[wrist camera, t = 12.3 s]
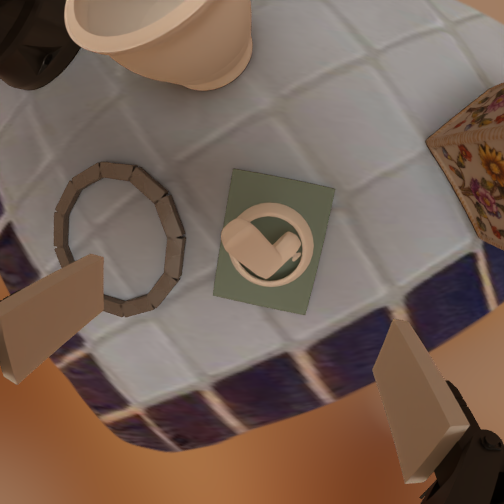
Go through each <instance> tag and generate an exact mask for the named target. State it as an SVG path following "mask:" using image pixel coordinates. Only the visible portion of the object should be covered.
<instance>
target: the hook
mask: <svg viewBox="0 0 504 504" xmlns="http://www.w3.org/2000/svg"><path fill="white" fill-rule="evenodd" d="M267 216H270V217H277V218H280V219H283V220H285V221H287V222H288V223H289V224H291V225H292V226H293V227H294V228H295V230H296V231H297V232H298V234H299V236H300V239H301V242H302V249H303V250H302V257H301V260H300V263H299V265H298V266H297V268H296V269H295V270H294V271H293V273H291V274H290V275H289V276H287V277H285V278H283V279H279V280H273V281H268V280H262V279H258V278H256V277H254V276H252V275H251V274H249V273H248V272H247V271H246V270H245V269H244V268H243V267H242V265H241V264H240V263H242V264H243V265H244V266H246V267H247V268H248V269H250V270H251V271H252V272H254V273H255V274H256V275H257V276H260V277H263V278H265V279H268V278H269V277H271V276H272V275H273V274H274V273H275V272H276V271H277V270H278V269H279V268H280V267H281V266H282V265H283V264H284V263H286V262H287V261H288V260H289V259H290V258H291V257H293V258H292V261H293V262H294V261H296V260H297V259H298V258H299V257H300V255H301V253H300V252H299V253H296V252H297V251H298V249H299V247H300V246H301V242H300V240H299V238H298V237H297V235H295V234H293V233H292V232H289V231H288V232H286V233H285V234H284V235H283V236H281V237H280V238H279V239H278V240H277V241H276V242H275V243H274V244H273V245H272V244H271V243H270V242H269V241H268V240H267V239H266V238H265V237H264V236H263V234H262V233H261V232H260V231H259V230H258V229H257V228H256V227H255V226H254V225H253V224H251V223H250V222H251V221H253V220H255V219H257V218H260V217H267ZM221 240H222V243H223V246H224V248H225V250H226V251H227V252H228V253H229V256H230V258H231V261H232V263H233V265H234V267H235V268H236V270H237V271H238V272H239V273H240V274H241V275H242V276H243V277H244V278H246V279H247V280H248V281H250V282H252V283H254V284H257V285H260V286H266V287H276V286H282V285H285V284H288V283H290V282H292V281H294V280H295V279H297V278H298V277H299V276H300V275H301V274H302V273H303V272H304V271H305V270H306V268H307V267H308V265H309V263H310V261H311V258H312V255H313V248H314V243H313V236H312V233H311V229H310V227H309V226H308V224H307V222H306V221H305V219H304V218H303V217H302V216H301V215H300V214H299V213H298V212H296V211H295V210H294V209H292V208H290V207H288V206H286V205H283V204H279V203H270V202H269V203H260V204H257V205H254V206H252V207H250V208H248V209H246V210H245V211H244V212H243V213H241V214H240V215H239V216H238V217H237V219H234V220H232V221H231V222H229V223H228V224H227V225H226V226H225V227H224V228H223V230H222V232H221Z"/></svg>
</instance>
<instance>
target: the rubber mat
mask: <svg viewBox="0 0 504 504" xmlns="http://www.w3.org/2000/svg"><path fill="white" fill-rule="evenodd" d="M334 192H335V189H333V188H329V187H325V186H320V185H315V184H311V183H306V182H301V181H297V180H292V179H287V178H282V177H276V176H271V175H266V174H261V173H255V172H249V171H244V170H238V169H233V173H232V178H231V184H230V190H229V196H228V202H227V208H226V214H225V220H224V226H223V228H224V227H225V226H226V225H227V224H228V223H229V222H231V221H232V220H234V219H237V217H238V216H239V215H240V214H241V213H243V212H244V211H245V210H246V209H248V208H250V207H252V206H254V205H257V204H260V203H269V202H270V203H279V204H283V205H286V206H288V207H290V208H292V209H294V210H295V211H296V212H298V213H299V214H300V215H301V216H302V217H303V218H304V219H305V221H306V222H307V224H308V226H309V227H310V229H311V233H312V236H313V243H314V248H313V255H312V258H311V261H310V263H309V265H308V267H307V268H306V270H305V271H304V272H303V273H302V274H301V275H300V276H299V277H298V278H297V279H295V280H294V281H292V282H290V283H288V284H285V285H282V286H276V287H266V286H260V285H257V284H254V283H252V282H250V281H248V280H247V279H246V278H244V277H243V276H242V275H241V274H240V273H239V272H238V271H237V270H236V268H235V267H234V265H233V263H232V261H231V258H230V256H229V253H228V252H227V251H226V250H225V248H224V246H223V243H222V240H221V245H220V251H219V257H218V264H217V270H216V277H215V284H214V290H213V295H214V296H218V297H222V298H227V299H231V300H235V301H240V302H244V303H249V304H253V305H258V306H263V307H267V308H272V309H277V310H282V311H287V312H291V313H296V314H301V315H305V314H306V310H307V307H308V303H309V299H310V295H311V291H312V287H313V284H314V280H315V276H316V272H317V268H318V263H319V259H320V255H321V251H322V247H323V242H324V238H325V234H326V229H327V225H328V220H329V216H330V211H331V207H332V202H333V197H334ZM250 223H251V224H253V225H254V226H255V227H256V228H257V229H258V230H259V231H260V232H261V233H262V234H263V236H264V237H265V238H266V239H267V240H268V241H269V242H270V243H271V244H272V245H273V244H274V243H275V242H276V241H277V240H278V239H279V238H280V237H281V236H283V235H284V234H285V233H286V232H288V231H289V232H292V233H293V234H295V235H297V237H298V238H299V240H300V242H301V239H300V236H299V234H298V232H297V231H296V230H295V228H294V227H293V226H292V225H291V224H289V223H288V222H287V221H285V220H283V219H280V218H277V217H270V216H267V217H260V218H257V219H255V220H253V221H251V222H250ZM302 250H303V249H302V242H301V246H300V247H299V249H298V251H297V252H296V253H299V252H300V253H301V255H300V257H299V258H298V259H297V260H296V261H294V262H293V261H292V258H293V257H291V258H290V259H289V260H288V261H287V262H286V263H284V264H283V265H282V266H281V267H280V268H279V269H278V270H277V271H276V272H275V273H274V274H273V275H272V276H271V277H269V278H268V279H265V278H263V277H260V276H257V275H256V274H255V273H254V272H252V271H251V270H250V269H248V268H247V267H246V266H244V265H243V264H242V263H240V264H241V265H242V267H243V268H244V269H245V270H246V271H247V272H248V273H249V274H251V275H252V276H254V277H256V278H258V279H262V280H268V281H273V280H279V279H283V278H285V277H287V276H289V275H290V274H291V273H293V271H294V270H295V269H296V268H297V266H298V265H299V263H300V260H301V257H302Z"/></svg>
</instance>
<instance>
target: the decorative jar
mask: <svg viewBox="0 0 504 504" xmlns="http://www.w3.org/2000/svg"><path fill="white" fill-rule="evenodd" d="M426 143H427V145H428V147H429V149H430V150H431V152H432V154H433V155H434V157H435V158H436V160H437V161H438V163H439V165H440V166H441V168H442V169H443V171H444V173H445V174H446V176H447V178H448V180H449V181H450V183H451V184H452V186H453V188H454V190H455V192H456V194H457V196H458V197H459V199H460V201H461V203H462V205H463V207H464V209H465V210H466V212H467V214H468V216H469V218H470V220H471V222H472V224H473V226H474V228H475V230H476V233H477V235H478V236H479V238H480V239H482V240H483V241H485V242H487V243H489V244H492V245H493V246H495V247H497V248H500V249H501V250H504V83H501V84H499V85H497V86H494V87H492V88H490V89H488V90H487V91H486V92H485V93H484V94H483V95H481V96H480V97H479V98H477V99H476V100H475V101H473V102H472V103H471V104H470V105H468V106H467V107H466V108H465V109H464V110H462V111H461V112H460V113H458V114H457V115H456V116H455V117H453V118H452V119H451V120H450V121H449V122H447V123H446V124H445V125H443V126H442V127H441V128H440V129H439V130H438V131H436V132H435V133H434V134H433V135H432V136H430V137H429V138H428V139H427V141H426Z"/></svg>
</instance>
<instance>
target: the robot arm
mask: <svg viewBox="0 0 504 504" xmlns="http://www.w3.org/2000/svg"><path fill="white" fill-rule="evenodd" d="M65 4H66V0H0V79H2V80H3V81H4V82H5V83H7V84H8V85H10V86H12V87H14V88H19V89H24V90H33V89H37V88H40V87H42V86H44V85H46V84H47V83H49V82H50V81H51V80H53V79H54V78H55V77H56V76H57V75H58V74H60V73H61V72H62V71H63V69H64V68H65V67H66V66H67V65H68V64H69V62H70V61H71V60H72V59H73V57H74V56H75V54H76V53H77V51H78V50H79V48H80V46H79V45H77V44H76V43H75V42H74V41H73V40H72V39H71V37H70V36H69V34H68V32H67V29H66V25H65V19H64V11H65ZM103 263H104V257H101V256H97V255H93V254H89V255H87V256H85V257H83V258H81V259H79V260H77V261H75V262H73V263H71V264H69V265H67V266H65V267H63V268H62V269H60V270H58V271H56V272H54V273H52V274H50V275H48V276H46V277H44V278H42V279H41V280H39V281H37V282H35V283H33V284H31V285H29V286H28V287H26V288H24V289H22V290H18V291H16V292H15V293H13V294H11V295H10V296H7V297H6V298H4V299H3V300H0V366H1V369H2V372H3V375H4V377H6V378H7V379H9V380H10V381H12V382H13V383H15V384H16V385H18V384H19V383H20V382H21V381H22V380H23V379H24V378H26V377H27V375H29V374H30V373H31V372H32V371H33V370H34V369H36V368H37V367H38V366H39V365H40V364H41V363H42V362H43V361H45V360H46V359H47V358H48V357H49V356H50V355H51V354H53V353H54V352H55V351H56V350H57V349H58V348H59V347H61V346H62V345H63V344H64V343H65V342H66V341H68V340H69V339H70V338H71V337H72V336H73V335H75V334H76V333H77V332H78V331H79V330H81V329H82V328H83V327H84V326H85V325H86V324H88V323H89V322H90V321H91V320H92V319H94V318H95V317H96V316H97V315H98V314H100V313H101V312H102V311H103V310H104V297H103ZM372 371H373V374H374V377H375V380H376V383H377V386H378V389H379V392H380V396H381V399H382V402H383V405H384V409H385V412H386V415H387V419H388V422H389V425H390V429H391V432H392V436H393V439H394V443H395V447H396V450H397V454H398V458H399V461H400V465H401V469H402V473H403V477H404V481H405V483H419V482H425V480H427V478H428V477H429V476H430V475H431V474H432V473H433V472H435V475H436V478H437V480H436V481H435V482H434V483H433V484H432V485H431V486H430V487H429V488H428V489H427V490H426V491H425V492H424V493H423V494H422V495H421V496H420V498H421V499H422V498H423V497H424V496H425V497H424V499H423V500H422V502H421V504H504V444H503V442H502V440H501V439H500V438H499V436H498V435H496V434H495V433H493V432H492V431H489V430H481V429H480V427H479V425H478V423H477V422H476V420H475V418H474V416H473V414H472V413H471V411H470V409H469V408H468V407H467V405H466V402H465V401H464V400H463V397H462V396H461V394H460V392H459V391H458V389H457V388H456V387H455V386H454V385H453V384H452V383H451V382H450V381H445V380H444V378H443V376H442V375H441V373H440V371H439V370H438V368H437V366H436V365H435V363H434V361H433V360H432V358H431V356H430V355H429V353H428V352H427V350H426V348H425V347H424V345H423V344H422V342H421V341H420V339H419V337H418V336H417V334H416V333H415V331H414V330H413V328H412V327H411V325H410V324H409V322H408V321H403V320H397V319H393V320H392V323H391V326H390V328H389V331H388V334H387V336H386V339H385V341H384V344H383V346H382V348H381V351H380V353H379V356H378V358H377V360H376V363H375V365H374V367H373V370H372Z"/></svg>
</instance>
